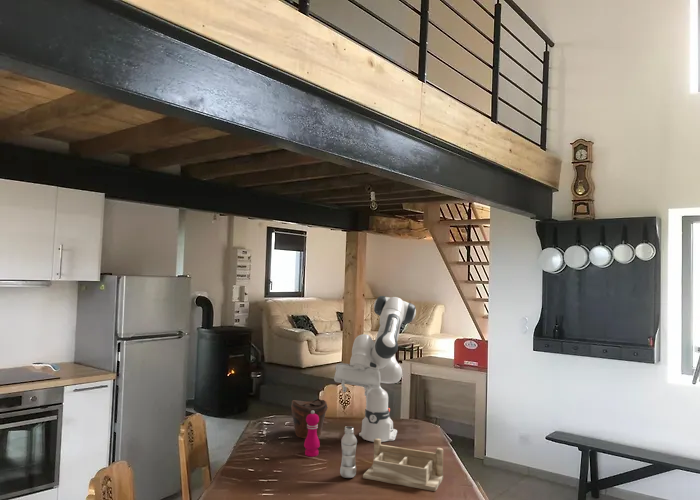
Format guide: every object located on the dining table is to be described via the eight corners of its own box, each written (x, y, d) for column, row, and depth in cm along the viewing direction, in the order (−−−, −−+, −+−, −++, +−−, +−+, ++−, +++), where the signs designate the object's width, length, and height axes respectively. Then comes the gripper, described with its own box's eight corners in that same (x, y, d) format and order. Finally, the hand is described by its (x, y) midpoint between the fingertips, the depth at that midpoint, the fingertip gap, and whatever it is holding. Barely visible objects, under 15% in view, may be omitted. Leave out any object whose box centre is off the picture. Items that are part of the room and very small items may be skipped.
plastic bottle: (339, 473, 223) (340, 425, 224) (355, 473, 224) (356, 425, 224) (340, 480, 217) (341, 430, 217) (357, 480, 218) (358, 430, 218)
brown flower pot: (334, 432, 278) (334, 397, 278) (311, 443, 261) (311, 406, 261) (307, 426, 287) (307, 393, 288) (283, 436, 270) (283, 400, 271)
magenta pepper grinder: (317, 457, 241) (318, 412, 242) (301, 456, 243) (302, 411, 243) (321, 452, 249) (322, 408, 249) (306, 450, 250) (307, 407, 250)
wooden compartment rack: (374, 466, 233) (375, 438, 233) (443, 477, 222) (443, 448, 222) (363, 478, 220) (363, 448, 220) (435, 491, 208) (435, 460, 209)
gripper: (336, 358, 238) (331, 384, 228) (382, 365, 237) (379, 393, 227) (335, 366, 242) (330, 392, 232) (380, 373, 241) (377, 401, 231)
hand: (355, 393), depth 230 cm, fingers open, 8 cm apart
